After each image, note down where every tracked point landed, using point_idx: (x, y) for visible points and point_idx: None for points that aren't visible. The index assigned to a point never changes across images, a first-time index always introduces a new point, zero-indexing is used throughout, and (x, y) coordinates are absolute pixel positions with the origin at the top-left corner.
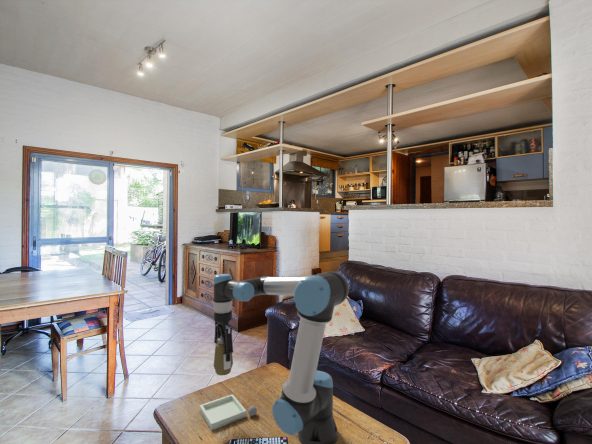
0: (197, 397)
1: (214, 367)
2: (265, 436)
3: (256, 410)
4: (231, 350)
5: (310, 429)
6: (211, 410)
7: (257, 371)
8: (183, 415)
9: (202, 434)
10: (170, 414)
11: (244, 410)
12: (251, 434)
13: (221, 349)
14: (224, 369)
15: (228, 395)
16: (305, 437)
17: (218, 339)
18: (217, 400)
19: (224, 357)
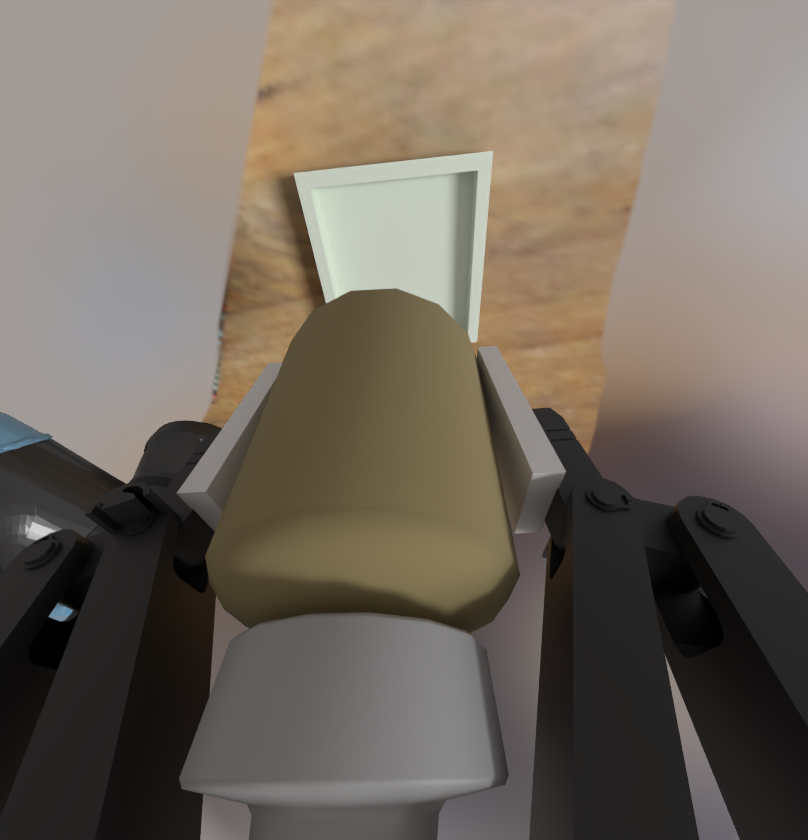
0: (617, 174)
1: (376, 289)
2: (223, 357)
3: None
4: (77, 607)
5: (142, 461)
6: (439, 217)
7: None
8: (509, 16)
9: (286, 113)
10: None
11: None
12: (240, 323)
13: (218, 526)
14: (267, 365)
15: (478, 324)
16: (157, 437)
17: (320, 798)
18: (472, 265)
19: (206, 451)
